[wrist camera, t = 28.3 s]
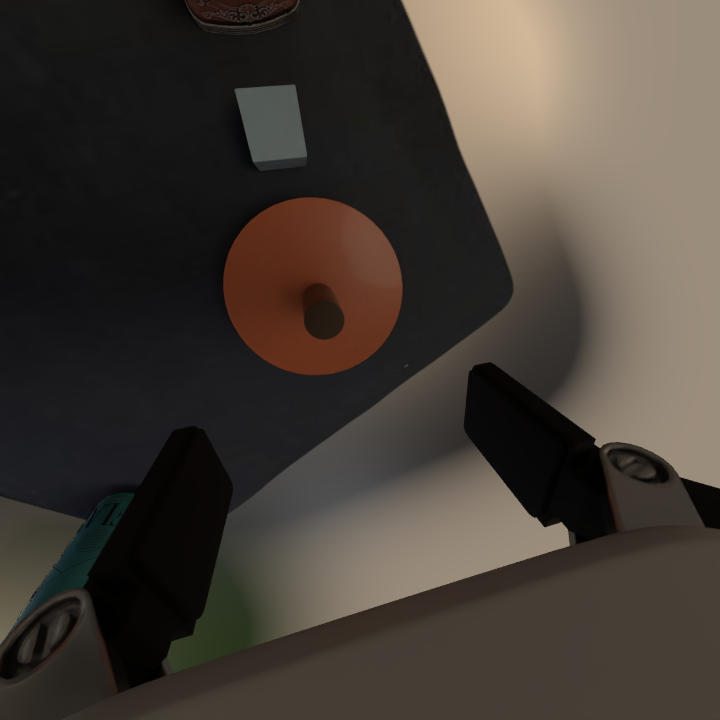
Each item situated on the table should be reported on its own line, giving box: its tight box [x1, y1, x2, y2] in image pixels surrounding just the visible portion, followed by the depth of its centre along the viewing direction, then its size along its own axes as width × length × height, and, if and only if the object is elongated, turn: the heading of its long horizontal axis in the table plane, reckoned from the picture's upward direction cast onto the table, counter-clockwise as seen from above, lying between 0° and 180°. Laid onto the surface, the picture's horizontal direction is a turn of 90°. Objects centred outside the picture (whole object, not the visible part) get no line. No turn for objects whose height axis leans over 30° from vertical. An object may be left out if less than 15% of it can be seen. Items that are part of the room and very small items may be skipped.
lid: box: [223, 197, 402, 375], centre depth 23 cm, size 16×16×7 cm
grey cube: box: [235, 85, 307, 171], centre depth 22 cm, size 4×4×4 cm
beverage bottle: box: [0, 492, 135, 645], centre depth 29 cm, size 6×7×20 cm
